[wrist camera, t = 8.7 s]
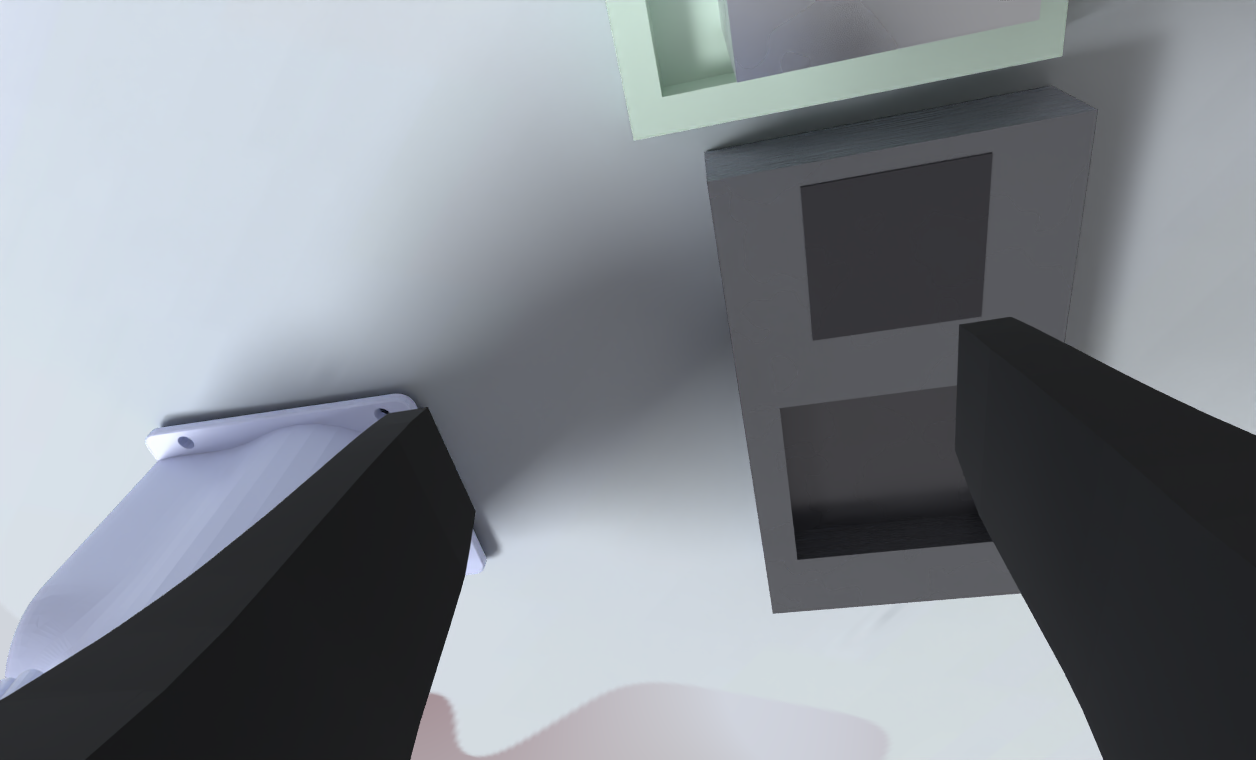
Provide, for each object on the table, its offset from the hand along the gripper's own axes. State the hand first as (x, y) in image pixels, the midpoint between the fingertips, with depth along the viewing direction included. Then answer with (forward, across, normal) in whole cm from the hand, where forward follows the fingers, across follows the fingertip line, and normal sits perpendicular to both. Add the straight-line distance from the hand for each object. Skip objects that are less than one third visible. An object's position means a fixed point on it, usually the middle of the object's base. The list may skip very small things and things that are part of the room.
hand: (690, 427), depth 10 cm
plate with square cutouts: (+10, -5, +7) cm, 13 cm away
